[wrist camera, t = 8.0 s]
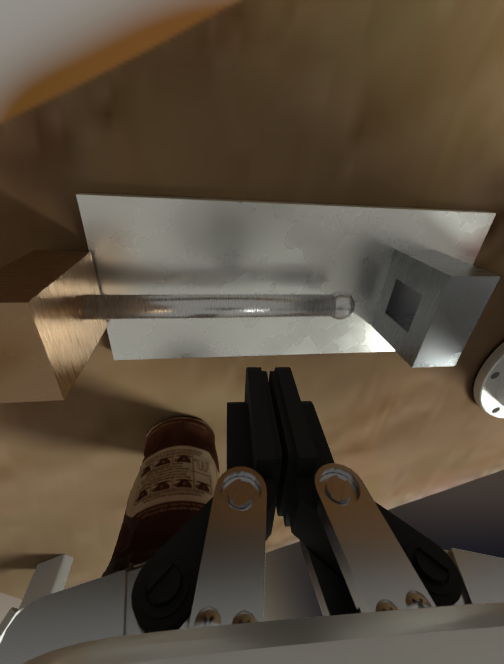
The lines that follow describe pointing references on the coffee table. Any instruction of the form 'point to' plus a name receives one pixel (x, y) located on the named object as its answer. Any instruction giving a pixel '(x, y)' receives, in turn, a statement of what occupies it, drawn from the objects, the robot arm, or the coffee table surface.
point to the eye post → (291, 274)
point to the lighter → (41, 585)
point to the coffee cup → (166, 489)
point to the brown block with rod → (102, 318)
